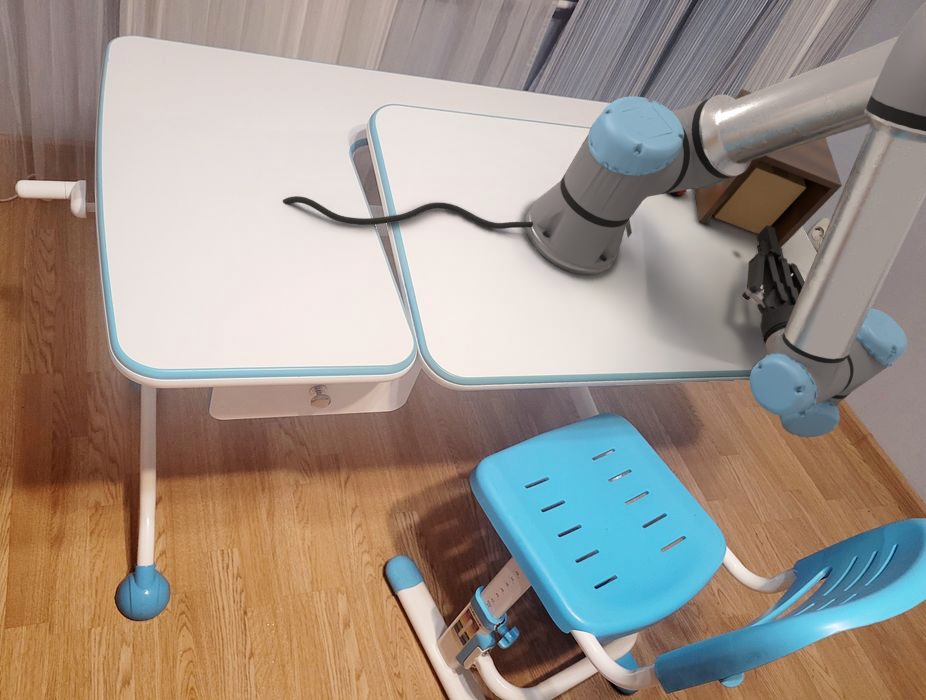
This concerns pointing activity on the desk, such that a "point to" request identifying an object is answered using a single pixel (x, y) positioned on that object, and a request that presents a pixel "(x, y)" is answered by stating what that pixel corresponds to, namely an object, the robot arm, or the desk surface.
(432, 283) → the desk surface
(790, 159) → the cabinet
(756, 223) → the box
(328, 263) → the desk surface
